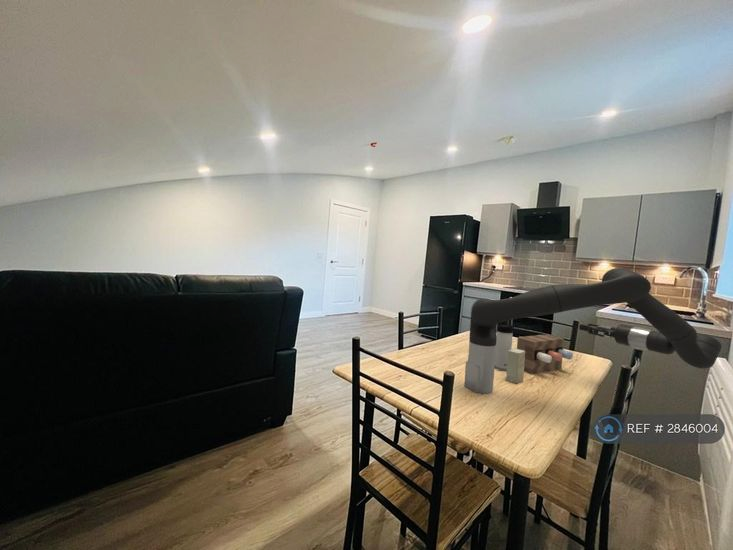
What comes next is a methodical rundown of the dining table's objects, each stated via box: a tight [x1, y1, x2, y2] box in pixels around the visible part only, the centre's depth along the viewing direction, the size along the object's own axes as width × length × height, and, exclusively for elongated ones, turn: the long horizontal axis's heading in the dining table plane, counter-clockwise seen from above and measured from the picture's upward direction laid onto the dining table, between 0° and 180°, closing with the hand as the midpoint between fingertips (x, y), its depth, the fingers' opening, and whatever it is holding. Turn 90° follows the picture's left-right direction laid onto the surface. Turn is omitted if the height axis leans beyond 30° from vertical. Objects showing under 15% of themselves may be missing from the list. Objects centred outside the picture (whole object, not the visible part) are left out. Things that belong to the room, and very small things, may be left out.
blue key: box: [558, 349, 574, 360], centre depth 128 cm, size 3×4×3 cm
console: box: [516, 333, 565, 375], centre depth 131 cm, size 20×8×14 cm, turn 114°
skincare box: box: [505, 347, 525, 384], centre depth 116 cm, size 6×4×12 cm
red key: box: [547, 351, 563, 361], centre depth 125 cm, size 3×4×3 cm
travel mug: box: [494, 324, 515, 372], centre depth 128 cm, size 6×7×20 cm
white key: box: [537, 352, 552, 363], centre depth 122 cm, size 3×4×3 cm
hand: (584, 326), depth 121 cm, fingers open, 5 cm apart
